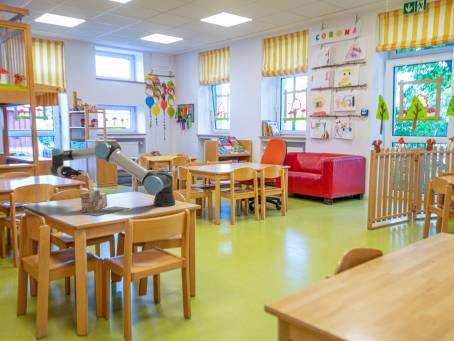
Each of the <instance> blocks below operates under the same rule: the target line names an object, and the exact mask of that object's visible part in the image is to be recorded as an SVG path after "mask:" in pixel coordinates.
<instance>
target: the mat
mask: <svg viewBox="0 0 454 341" xmlns="http://www.w3.org/2000/svg"><path fill="white" fill-rule="evenodd" d="M127 210H130V207H124V206H118V205H117V206H116V205H115V206H110V207H104V208H101V209H98V210H96V211H93V212H82V215H88V216H93V217H100V215H101V216H104V214H105V215H108V213H109V214H112V213H117V212H121V211H127Z"/></svg>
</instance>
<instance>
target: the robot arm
mask: <svg viewBox="0 0 454 341" xmlns="http://www.w3.org/2000/svg"><path fill="white" fill-rule="evenodd" d="M91 158H92V159H93V158H98V159H99V160H102V161H103V160H104V161H106V162H108V163H109V164H114V165H116V166H117V167H119V168H120V169H122V170H123V171H125V172H126V173H128V174H129V175H131V176H132V177H134V178H135V179H137V180H138V181H139V182H140V183H141V184H140V185H142V186H143V187H144V189H145V191H146V192H147V193H150V194H155V195H154V200H153V206H154V207H155V206H156V207H170V206H171V207H172V206H175V205H176V200H175V197H174V189H173V188H174V184H173V183H174V182H173V181H174V180H173V179H174V175H173V172H170V171H168V172H167V171H156V172H155V171H153V170H151V169H150V170H148V169H146V168H145V167H144V166H142V165H140V164H138V162H136V161H135V160H133V159H131V158H129V157H128V156H127V155H125V154H124V153H122V147H121V145H120V144H119V143H118V142H116V141H100V142H99V143H97V144H96V145H95V146H92V147H91V146H90V147H83V148H76V149H68V150H67V149H66V150H64V148H60V147H59V148H58V147H57V148H55V147H54V148H52V149H51V165H50V167H49V173H50V174H51V175H52V176H56V177H57V176H58V177H62V178H64V177H65V178H70V177H72V176H75V177H79V176H81V177H82V176H83V177H86V176H87V171H83V170H82V169H74V168H72V167H71V166H69V165H64V162H67V161H69V162H70V161H76V160H82V159H83V160H84V159H91Z"/></svg>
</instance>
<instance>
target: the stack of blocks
mask: <svg viewBox="0 0 454 341" xmlns="http://www.w3.org/2000/svg"><path fill="white" fill-rule="evenodd" d="M107 197H108V196H107V193H106V192H100V190H99V189H98V190H92V189H91V190H87V191H83V192H81V193H80V199H81V200H80V202H81V212H82V213H86V212H93V211H96V210H100V209H105V208H108V198H107Z"/></svg>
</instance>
